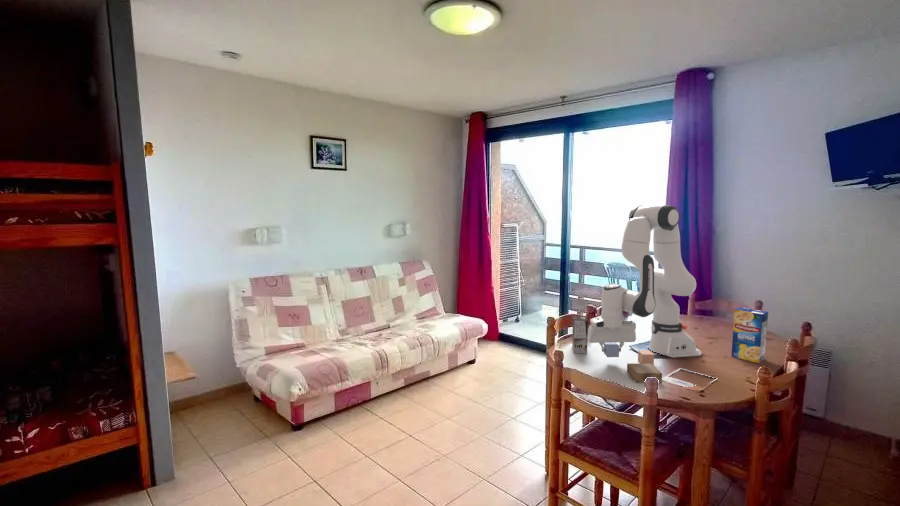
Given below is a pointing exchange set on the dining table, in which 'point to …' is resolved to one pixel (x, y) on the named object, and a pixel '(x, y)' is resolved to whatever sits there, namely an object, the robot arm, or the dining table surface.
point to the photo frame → (680, 382)
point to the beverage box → (749, 334)
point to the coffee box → (580, 334)
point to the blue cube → (611, 349)
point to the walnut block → (643, 372)
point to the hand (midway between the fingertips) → (611, 351)
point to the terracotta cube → (645, 357)
